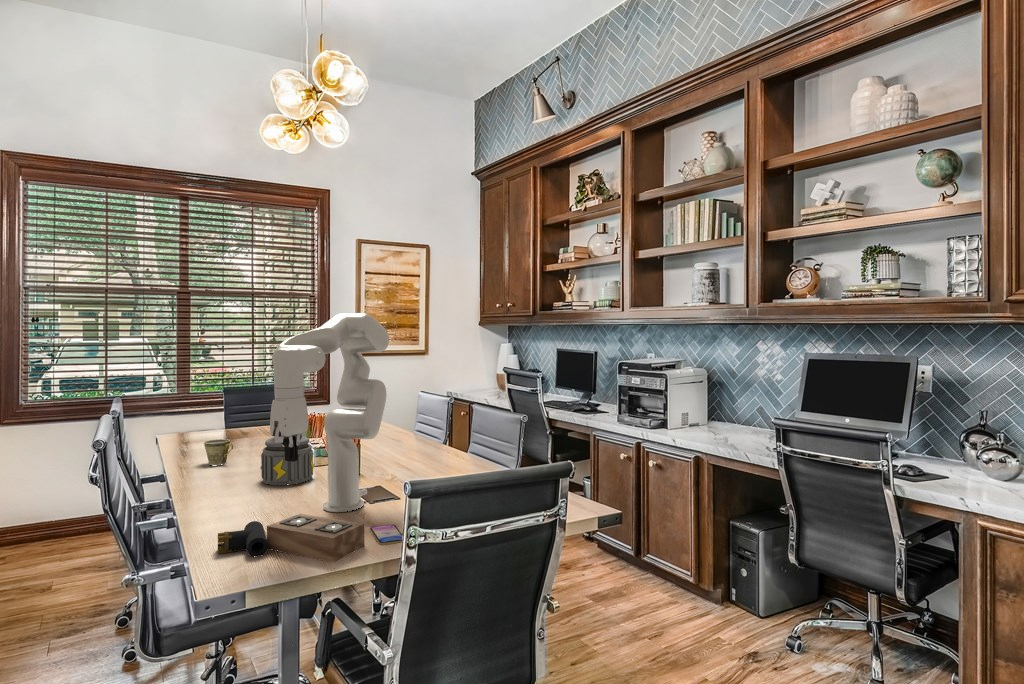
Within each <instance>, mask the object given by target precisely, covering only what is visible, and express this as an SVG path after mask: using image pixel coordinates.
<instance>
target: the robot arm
mask: <svg viewBox="0 0 1024 684" xmlns="http://www.w3.org/2000/svg"><path fill="white" fill-rule="evenodd" d="M389 344H390V337H389V333H388V331H387V329H386V328H385V326H383V325H382V324H381V323H380V322H379V321H378V320H377V319H376V318H375V317H373V316H372V315H370V314H368V313H364V312H357V313H355V312H354V313H353V312H352V313H348V312H347V313H345V312H344V313H343V312H342V313H338V314H336V315H334V316H332V317H331V318H330V319H328V320H327V321H326V322H324V323H323V324H322V325H320V326H319V327H317V328H313V329H311V330H307V331H306V332H302V333H299V334H296V335H293V336H291V337H289V338H287V339H286V340H284V341H282V342H281V343H280V344H279V345H278V346H277V347H276V348H275V350H274V351H273V354H272V356H271V357H272V358H271V359H272V364H273V380H274V381H273V382H274V383H273V386H274V389H273V390H274V399H272V402H271V406H270V407H271V408H270V418H269V419H270V420H269V432H270V433H269V434H270V436H271V437H275V439H274V441H275V442H278V443H282V446H283V447H284V449H285V461H291V462H294V461H297V460H298V445H299V444H300V439H301V438H302V437H303V436H305V437H306V435H307V431H308V429H309V412H308V405H307V401H306V400H307V399H306V396H305V390H306V389H305V379H304V376H305V375H304V373H315V372H316V373H317V372H319V371H320V370H321V369H322V368H324V366H325V364H326V360H327V359H326V355H327V354H331V353H334V352H336V351H337V350H338V349H340V351H341V355H342V358H343V359H342V360H343V363H344V367H343V372H342V374H341V375H342V376H341V378H340V383H339V386H338V390H337V395H336V400H337V403H338V404H339V406H341V407H344V408H335V409H334V408H333V409H332V410H330V411H329V412H327V414H326V415H325V417H324V420H323V426H324V432H325V437H326V444H327V487H328V488H327V489H328V490H327V494H328V495H327V499H328V500H327V501H326V502H324V503H323V506H322V507H323V510H324V511H327V512H332V513H345V512H346V513H348V512H352V510H354V511H356V509H357V510H359V509H358V508H360V509H361V507H362V506H363V505H364V506H365V501H364V500H362V499H361V497H362V496H365V495H367V494H368V490H367V488H362V489H360V480H359V479H360V478H359V477H360V476H359V473H360V472H359V471H360V469H359V467H360V466H359V450H358V446H357V444H356V443H355V441H354V440H372V439H375V438H376V436H377V435H378V434H379V431H380V428H381V424H382V420H383V416H384V411H385V407H386V402H387V388H386V384H385V383H384V382H383V381H382V380H380V379H375V378H374V379H372V378H369V376H370V371H371V368H370V364H369V362H368V361H367V360H366V358H365V357H364V356H363V354H362V353H383V352H384V351H385V350H386V349H387V348H388V347H389ZM364 506H363V507H364ZM363 507H362V508H363ZM347 511H348V512H347Z"/></svg>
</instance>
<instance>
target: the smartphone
mask: <svg viewBox="0 0 1024 684" xmlns="http://www.w3.org/2000/svg"><path fill="white" fill-rule="evenodd" d="M369 531H370V533H371V532H372V533H371V534H372V536H373V537H374V539H375V540H376V542H377V544H378V545H379V544H380V545H379V546H388V545H394V544H401V542H402V535H403V533H402V532H401V531H400V529H399V528H398V526H396V525H395V524H383V525H375V526H370V527H369ZM402 543H403V542H402Z"/></svg>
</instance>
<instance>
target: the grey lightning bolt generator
mask: <svg viewBox="0 0 1024 684" xmlns="http://www.w3.org/2000/svg"><path fill="white" fill-rule="evenodd" d="M274 439H275V436H271V437H270V438H269V439H266V440H265V443H264V445H265V447H264V448H263V449H262V453H261V454H260V458H261V459H260V460H261V461H260V464H261V465H260V471H261V479H262V482H263V484H265V483H266V484H265V485H267V484H270V485H269V486H272V485H287V484H296V483H301V484H303V483H302V482H304V483H306V482H305V481H307V482H309V481H311V480H312V478H313V475H314V469H315V464H314V455H315V454H314V451H313V447H312V445H311V444H309V442H310V438H309V437H307V436H306V435H305V436H303V437H302V438H301V439H300V444H299V445H298V460H297V461H294V462H291V461H285V449H284V447H283V446H282V443H278V442H275V441H274ZM310 479H311V480H310ZM308 480H309V481H308ZM296 485H297V484H296Z"/></svg>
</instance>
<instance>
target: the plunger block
mask: <svg viewBox="0 0 1024 684" xmlns="http://www.w3.org/2000/svg"><path fill="white" fill-rule="evenodd" d="M297 518H304V519H306V521H305V522H303V523H300V524H298V525H297V524H295V523H290V521H291V520H293V519H297ZM331 524H340V525H342V527H341V528H339V529H337V530H334V531H333V530H329V529H326V526H328V525H331ZM266 538H267V542H268V550H270V549H273V550H272V551H274V550H278V551H277V552H279V551H281V552H280V553H284V552H286V553H285V554H289V553H290V554H291V555H296V556H300V557H305V558H309V559H314V560H319V559H320V560H321V561H324V562H330V563H334V562H337V561H338V560H340V559H344V558H345V557H347V556H349V555H350V553H351V554H353V553H354V551H355V552H357V551H358V549H359V550H360V548H361V549H362V547H363V548H364V547H365V523H361V522H355V521H349V520H342V519H336V518H331V517H330V518H329V517H324V516H319V515H313V514H312V515H311V514H306V513H298V514H295V515H293V516H290V517H287V518H284V519H282V520H279V521H276V522H274V523H272V524H269V525H267V526H266ZM356 550H357V551H356ZM352 552H353V553H352ZM348 554H349V555H348ZM346 555H347V556H346Z"/></svg>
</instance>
